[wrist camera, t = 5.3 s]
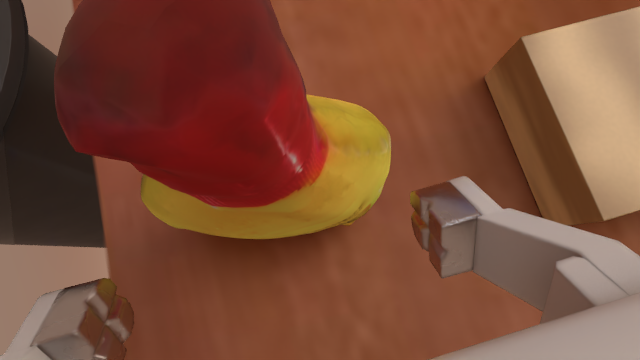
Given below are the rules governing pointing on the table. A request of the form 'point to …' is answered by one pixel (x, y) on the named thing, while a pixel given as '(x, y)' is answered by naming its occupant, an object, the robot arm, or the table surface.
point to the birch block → (576, 116)
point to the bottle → (215, 118)
